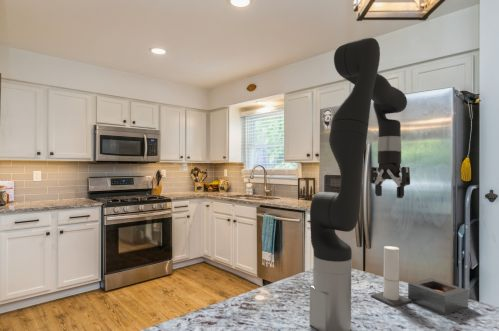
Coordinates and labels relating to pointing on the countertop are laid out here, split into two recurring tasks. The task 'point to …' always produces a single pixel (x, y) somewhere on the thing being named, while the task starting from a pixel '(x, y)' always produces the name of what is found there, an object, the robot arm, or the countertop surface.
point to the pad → (391, 302)
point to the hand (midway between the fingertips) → (389, 196)
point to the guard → (438, 295)
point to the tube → (391, 273)
